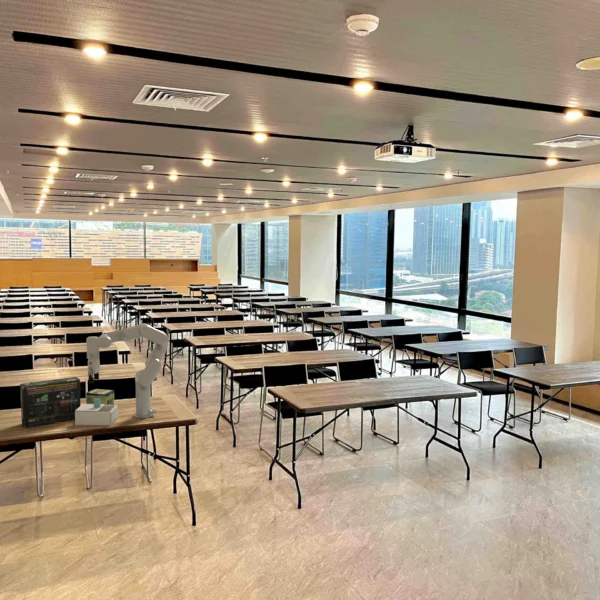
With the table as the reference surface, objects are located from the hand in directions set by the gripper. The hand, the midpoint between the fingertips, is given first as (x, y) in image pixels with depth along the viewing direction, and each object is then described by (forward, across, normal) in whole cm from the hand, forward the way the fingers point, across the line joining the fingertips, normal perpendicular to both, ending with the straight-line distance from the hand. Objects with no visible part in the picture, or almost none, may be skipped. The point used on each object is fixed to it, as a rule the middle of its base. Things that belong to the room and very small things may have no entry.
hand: (93, 381), depth 370 cm
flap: (+17, -2, +2) cm, 18 cm away
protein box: (+27, +16, +2) cm, 31 cm away
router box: (+26, -3, +27) cm, 38 cm away
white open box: (+26, -2, -2) cm, 27 cm away
